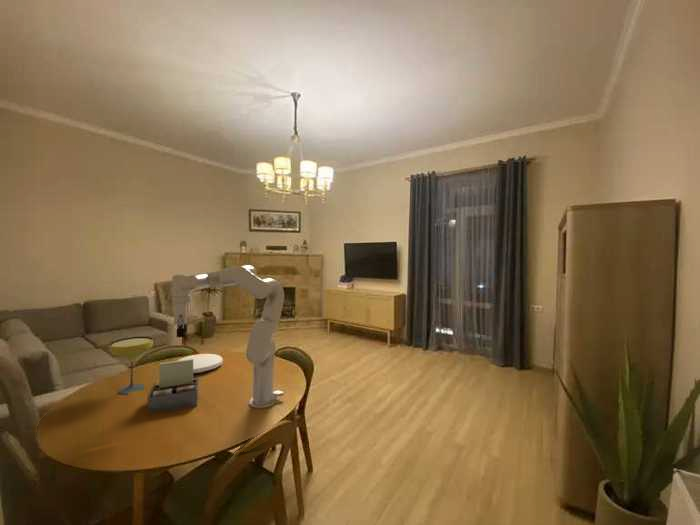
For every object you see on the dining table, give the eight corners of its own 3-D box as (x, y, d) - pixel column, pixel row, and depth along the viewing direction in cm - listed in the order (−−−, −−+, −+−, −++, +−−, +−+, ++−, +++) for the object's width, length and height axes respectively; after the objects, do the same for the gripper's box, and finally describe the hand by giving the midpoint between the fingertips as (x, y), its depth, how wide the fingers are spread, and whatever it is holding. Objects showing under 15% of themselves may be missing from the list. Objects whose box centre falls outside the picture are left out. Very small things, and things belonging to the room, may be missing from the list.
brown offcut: (172, 405, 132) (172, 388, 132) (171, 408, 129) (171, 391, 129) (153, 408, 129) (153, 390, 129) (152, 411, 126) (152, 393, 126)
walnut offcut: (194, 401, 136) (194, 384, 136) (193, 404, 133) (193, 387, 133) (177, 404, 133) (177, 387, 133) (176, 407, 130) (176, 390, 130)
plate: (196, 350, 195) (231, 354, 189) (196, 360, 194) (231, 364, 189) (162, 361, 167) (202, 366, 162) (161, 372, 167) (201, 377, 161)
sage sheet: (193, 394, 142) (193, 358, 142) (192, 396, 141) (193, 359, 140) (159, 400, 136) (159, 363, 135) (159, 402, 134) (159, 364, 134)
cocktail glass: (144, 395, 142) (145, 345, 141) (101, 400, 137) (101, 348, 136) (158, 380, 159) (158, 335, 159) (119, 383, 154) (119, 337, 154)
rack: (198, 394, 145) (198, 376, 145) (197, 407, 132) (197, 388, 132) (153, 401, 137) (153, 383, 136) (147, 416, 124) (147, 396, 124)
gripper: (174, 297, 146) (174, 330, 146) (170, 302, 130) (170, 340, 131) (190, 296, 149) (190, 329, 150) (189, 301, 134) (189, 338, 134)
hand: (181, 334), depth 140 cm, fingers open, 9 cm apart
